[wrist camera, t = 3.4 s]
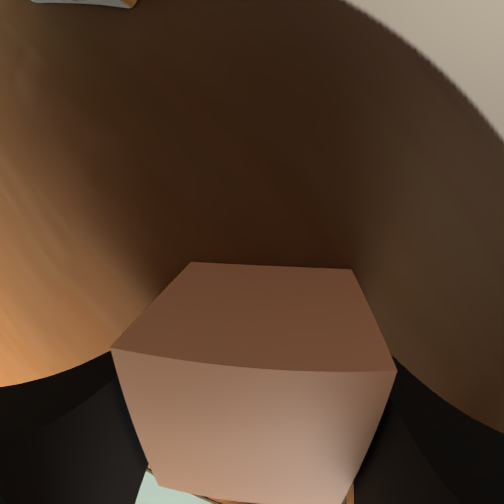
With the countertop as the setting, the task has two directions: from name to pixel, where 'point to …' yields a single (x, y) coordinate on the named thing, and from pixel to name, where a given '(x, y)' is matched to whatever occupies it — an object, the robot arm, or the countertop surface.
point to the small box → (94, 2)
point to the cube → (256, 382)
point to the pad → (165, 494)
